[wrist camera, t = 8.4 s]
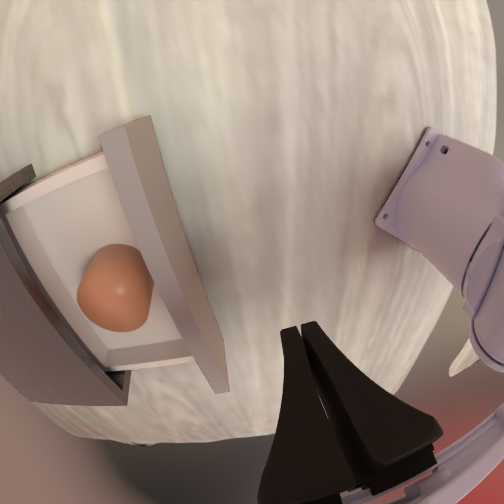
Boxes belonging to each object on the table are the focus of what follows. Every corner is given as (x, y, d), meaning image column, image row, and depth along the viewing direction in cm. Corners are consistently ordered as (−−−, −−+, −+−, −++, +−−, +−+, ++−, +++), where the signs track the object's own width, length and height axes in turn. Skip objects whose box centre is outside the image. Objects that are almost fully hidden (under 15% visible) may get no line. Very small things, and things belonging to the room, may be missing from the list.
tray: (112, 356, 24) (104, 403, 19) (9, 179, 13) (-36, 213, 9) (223, 339, 25) (229, 391, 20) (150, 115, 14) (124, 125, 9)
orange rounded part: (96, 234, 16) (78, 263, 14) (163, 256, 18) (156, 289, 15) (89, 287, 19) (75, 319, 16) (147, 306, 20) (141, 339, 17)
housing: (42, 361, 24) (30, 401, 19) (-50, 221, 13) (-84, 255, 8) (133, 354, 25) (127, 405, 20) (31, 163, 13) (-20, 197, 8)
